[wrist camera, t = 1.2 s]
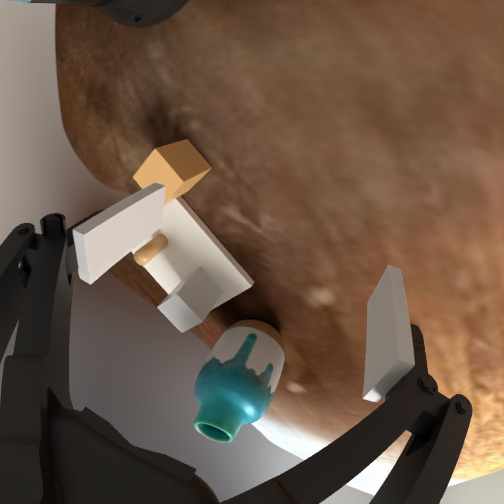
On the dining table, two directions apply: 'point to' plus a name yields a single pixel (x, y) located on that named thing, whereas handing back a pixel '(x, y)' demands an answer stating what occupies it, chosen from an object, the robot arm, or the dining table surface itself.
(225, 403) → the vase
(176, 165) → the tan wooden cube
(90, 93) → the dining table surface
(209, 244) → the plate
